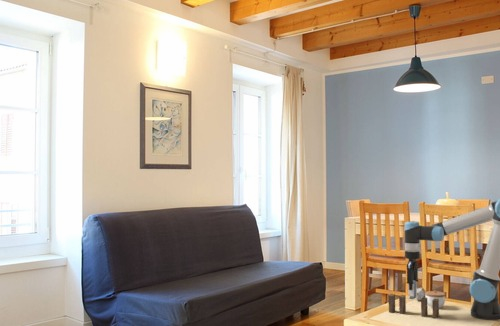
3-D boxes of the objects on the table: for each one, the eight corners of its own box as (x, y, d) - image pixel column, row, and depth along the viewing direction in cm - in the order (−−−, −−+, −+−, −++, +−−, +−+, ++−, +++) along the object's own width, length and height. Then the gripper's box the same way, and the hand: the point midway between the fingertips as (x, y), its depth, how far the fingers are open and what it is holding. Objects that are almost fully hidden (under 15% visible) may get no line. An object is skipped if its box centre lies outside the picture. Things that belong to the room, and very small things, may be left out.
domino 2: (405, 312, 276) (405, 295, 276) (403, 314, 271) (402, 297, 272) (402, 311, 277) (401, 294, 277) (399, 313, 272) (399, 296, 273)
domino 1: (395, 310, 279) (394, 294, 279) (392, 312, 274) (392, 295, 275) (391, 310, 280) (391, 293, 280) (388, 312, 275) (388, 295, 276)
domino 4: (427, 314, 269) (427, 297, 270) (425, 317, 265) (425, 299, 266) (423, 314, 271) (423, 297, 271) (421, 316, 266) (421, 299, 267)
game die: (423, 307, 300) (430, 296, 294) (409, 302, 301) (415, 290, 296) (424, 297, 307) (431, 285, 301) (410, 291, 309) (416, 280, 303)
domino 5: (438, 316, 266) (438, 298, 267) (436, 318, 262) (436, 300, 263) (434, 315, 267) (434, 298, 268) (432, 318, 263) (432, 300, 264)
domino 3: (409, 298, 270) (409, 281, 270) (412, 297, 274) (411, 280, 274) (413, 299, 269) (413, 282, 269) (415, 297, 273) (415, 280, 273)
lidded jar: (448, 309, 281) (448, 292, 281) (429, 309, 281) (428, 292, 281) (441, 304, 291) (441, 288, 292) (422, 304, 292) (422, 288, 292)
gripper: (414, 253, 263) (415, 299, 262) (423, 249, 278) (424, 292, 277) (400, 252, 267) (400, 297, 266) (409, 248, 282) (410, 291, 281)
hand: (412, 294), depth 271 cm, fingers closed on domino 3, 5 cm apart
